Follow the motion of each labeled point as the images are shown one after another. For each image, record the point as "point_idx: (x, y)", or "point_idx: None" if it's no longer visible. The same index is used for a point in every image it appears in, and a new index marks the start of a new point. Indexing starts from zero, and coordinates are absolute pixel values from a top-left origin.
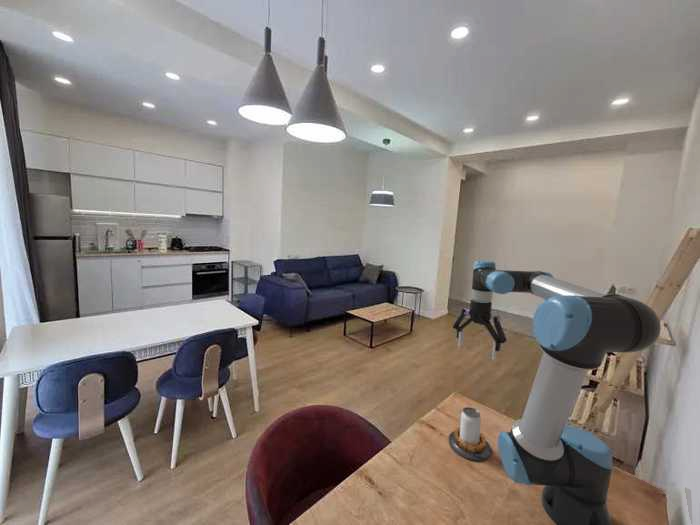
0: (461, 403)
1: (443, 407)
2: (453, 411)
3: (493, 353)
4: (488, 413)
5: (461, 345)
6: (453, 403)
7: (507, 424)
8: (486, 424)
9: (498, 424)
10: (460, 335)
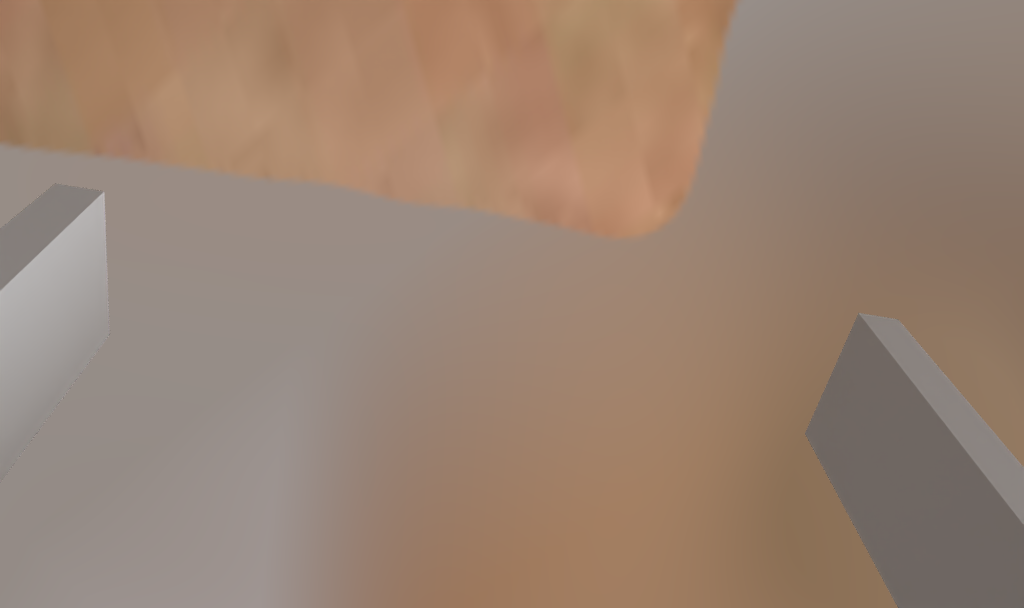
0: (601, 186)
1: (720, 25)
2: (631, 25)
3: (2, 253)
4: (388, 191)
5: (835, 401)
6: (658, 143)
7: (232, 143)
8: (356, 29)
9: (284, 96)
10: (1021, 523)
